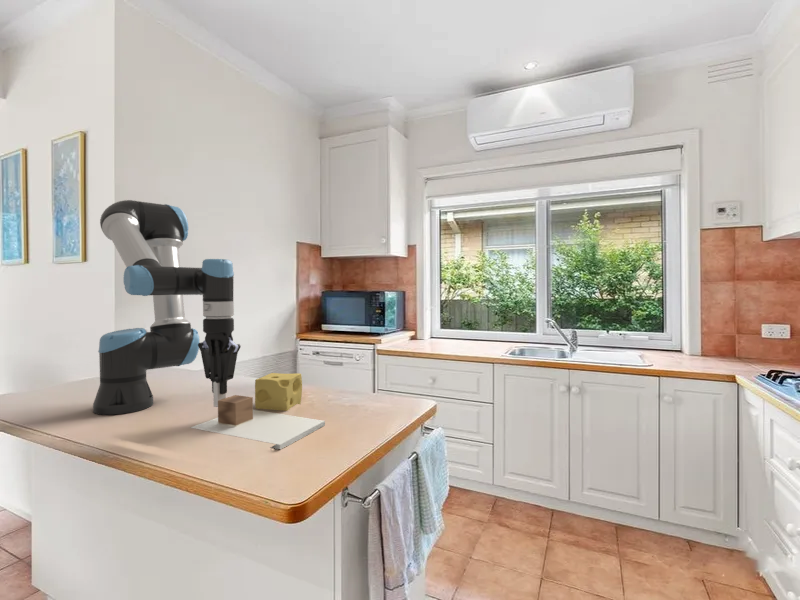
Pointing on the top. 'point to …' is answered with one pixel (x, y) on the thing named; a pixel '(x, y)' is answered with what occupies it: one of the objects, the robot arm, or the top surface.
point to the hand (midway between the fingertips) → (219, 405)
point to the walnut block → (235, 410)
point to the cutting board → (267, 428)
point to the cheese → (278, 391)
